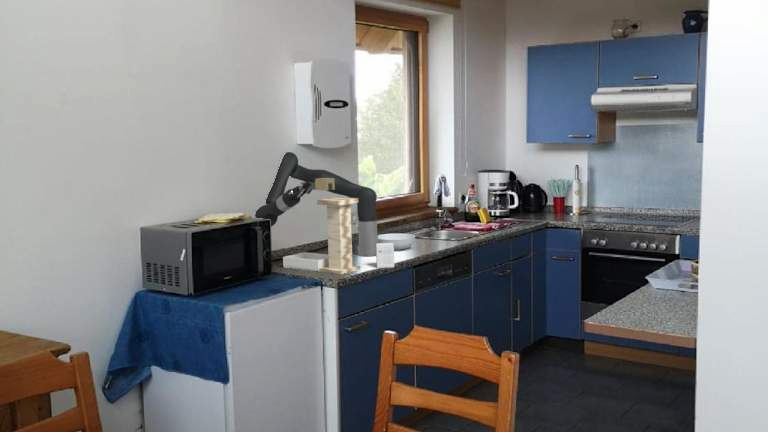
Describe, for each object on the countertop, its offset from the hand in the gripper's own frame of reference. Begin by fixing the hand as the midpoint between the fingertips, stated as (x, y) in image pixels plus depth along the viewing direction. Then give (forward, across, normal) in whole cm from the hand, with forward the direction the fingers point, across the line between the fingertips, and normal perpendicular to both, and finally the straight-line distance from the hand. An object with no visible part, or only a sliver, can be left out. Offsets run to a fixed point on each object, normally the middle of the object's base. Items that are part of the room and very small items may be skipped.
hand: (312, 182), depth 355 cm
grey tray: (-22, +1, +32) cm, 39 cm away
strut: (+1, 0, +4) cm, 4 cm away
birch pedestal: (-7, 0, +41) cm, 42 cm away
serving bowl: (-18, +62, +35) cm, 73 cm away
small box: (+4, +18, +47) cm, 51 cm away
